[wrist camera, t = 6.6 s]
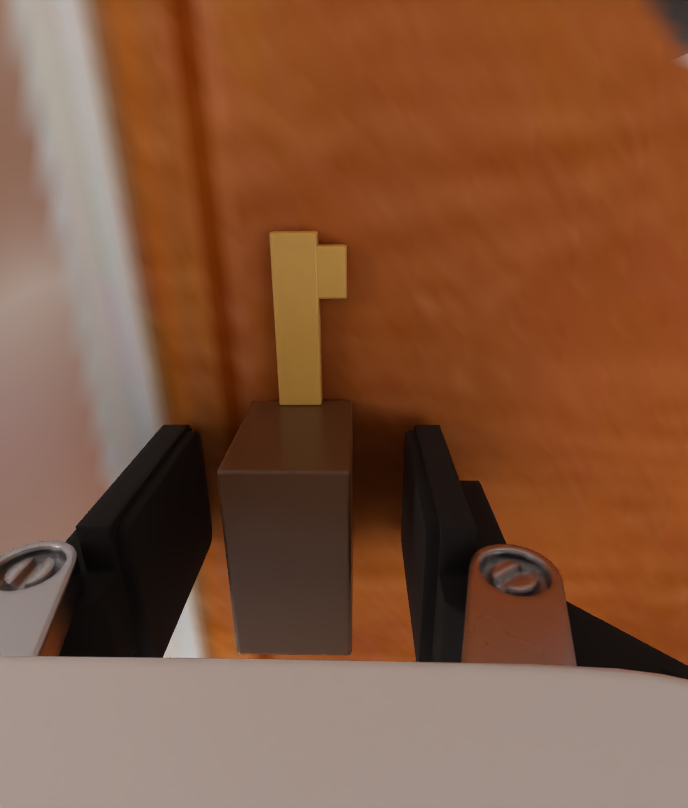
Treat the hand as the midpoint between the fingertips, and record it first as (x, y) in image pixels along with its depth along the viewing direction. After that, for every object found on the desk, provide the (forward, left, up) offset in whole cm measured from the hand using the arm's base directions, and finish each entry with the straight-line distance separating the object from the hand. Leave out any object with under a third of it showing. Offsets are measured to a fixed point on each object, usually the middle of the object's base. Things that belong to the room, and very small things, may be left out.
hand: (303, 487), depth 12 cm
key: (-2, -1, 0) cm, 2 cm away
